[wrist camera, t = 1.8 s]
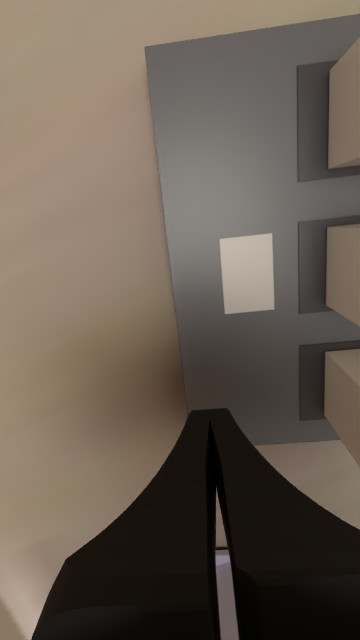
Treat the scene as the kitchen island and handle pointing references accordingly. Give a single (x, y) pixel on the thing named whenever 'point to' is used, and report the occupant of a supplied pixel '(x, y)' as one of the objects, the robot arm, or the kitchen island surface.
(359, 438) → the beige block
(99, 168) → the kitchen island surface
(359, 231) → the tab
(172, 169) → the switch bank
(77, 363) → the kitchen island surface
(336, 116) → the cream squarish block
